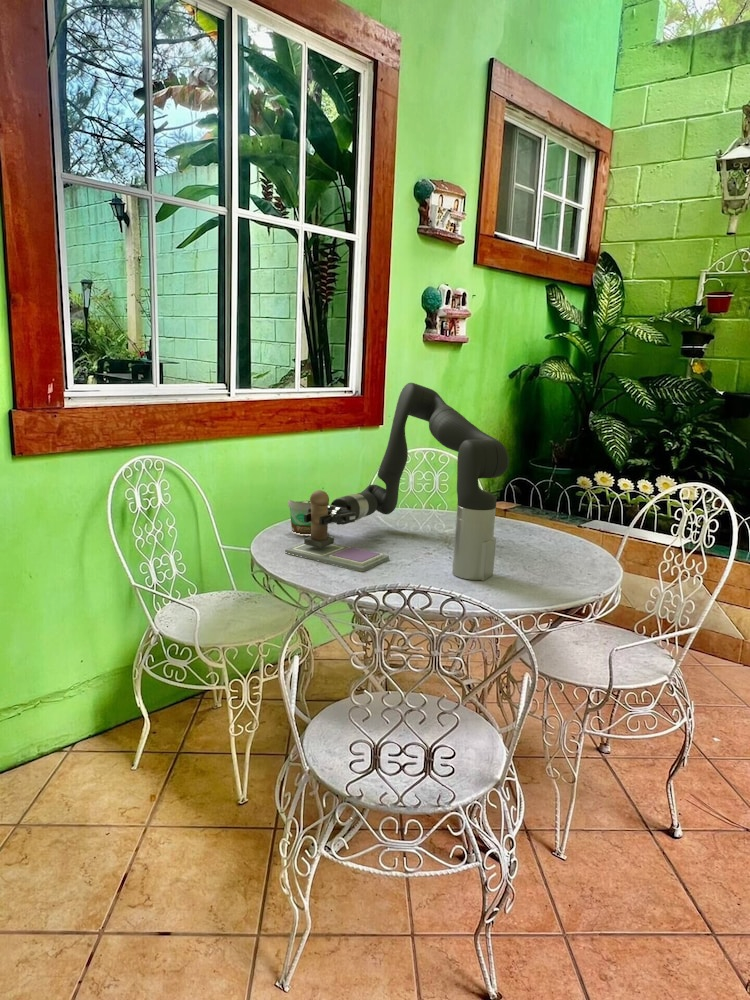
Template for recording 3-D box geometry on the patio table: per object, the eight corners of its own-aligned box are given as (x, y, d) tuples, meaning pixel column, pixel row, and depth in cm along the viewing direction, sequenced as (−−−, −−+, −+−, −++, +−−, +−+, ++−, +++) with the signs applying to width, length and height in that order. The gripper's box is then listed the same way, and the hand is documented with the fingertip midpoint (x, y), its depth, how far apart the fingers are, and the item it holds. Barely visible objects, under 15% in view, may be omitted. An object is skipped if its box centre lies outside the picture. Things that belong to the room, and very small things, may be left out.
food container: (284, 536, 185) (285, 502, 182) (286, 531, 191) (287, 498, 188) (327, 538, 185) (328, 504, 183) (328, 532, 191) (329, 499, 189)
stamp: (333, 543, 172) (334, 490, 169) (321, 548, 167) (322, 493, 164) (316, 539, 175) (317, 487, 171) (304, 544, 170) (304, 490, 167)
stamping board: (389, 559, 168) (389, 552, 167) (362, 571, 157) (362, 564, 156) (315, 542, 180) (315, 536, 179) (285, 553, 169) (285, 546, 168)
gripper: (329, 491, 184) (291, 501, 170) (371, 499, 177) (335, 510, 163) (328, 517, 186) (291, 529, 171) (370, 525, 179) (334, 538, 164)
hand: (313, 520), depth 167 cm, fingers closed on stamp, 4 cm apart
